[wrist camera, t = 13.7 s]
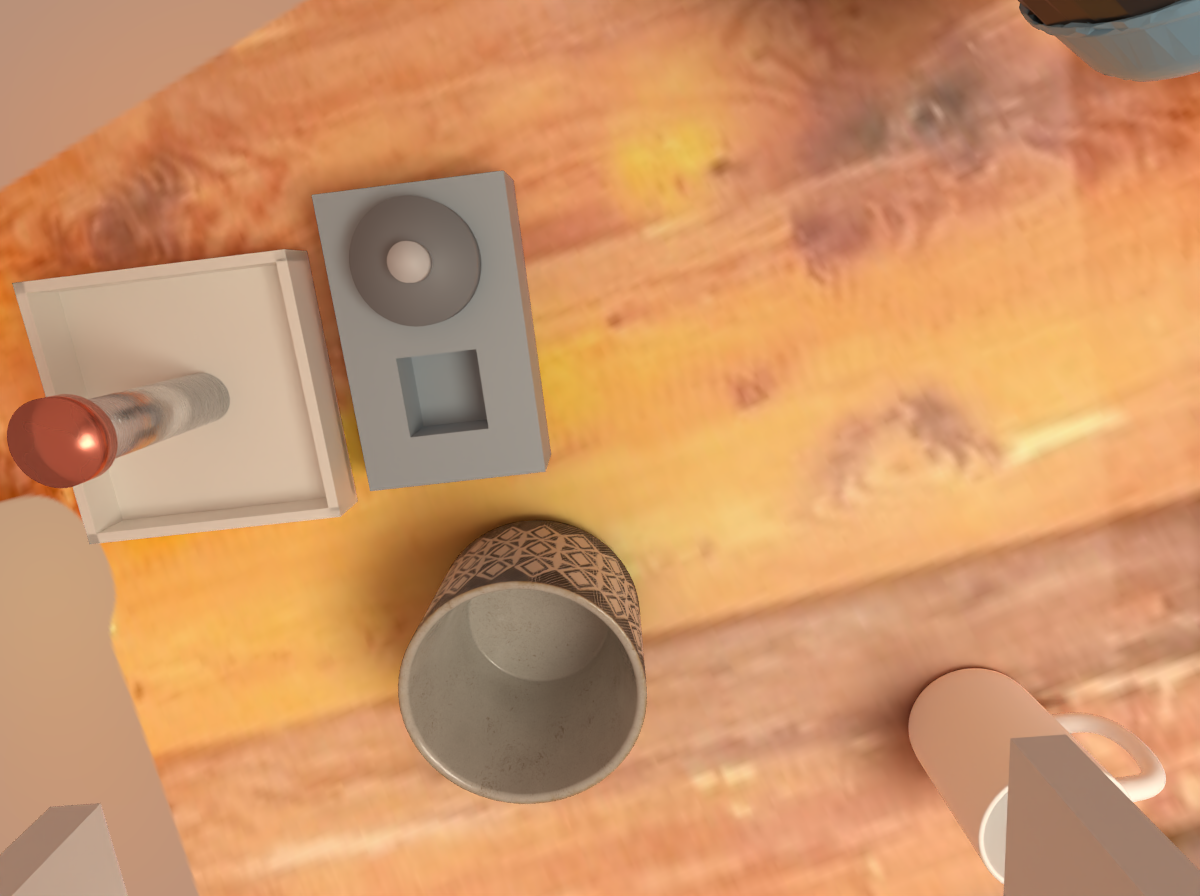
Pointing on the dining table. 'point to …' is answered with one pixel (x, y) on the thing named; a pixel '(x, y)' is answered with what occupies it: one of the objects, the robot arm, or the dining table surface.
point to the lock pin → (108, 426)
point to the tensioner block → (436, 329)
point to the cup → (1001, 750)
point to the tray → (201, 345)
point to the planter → (528, 666)
